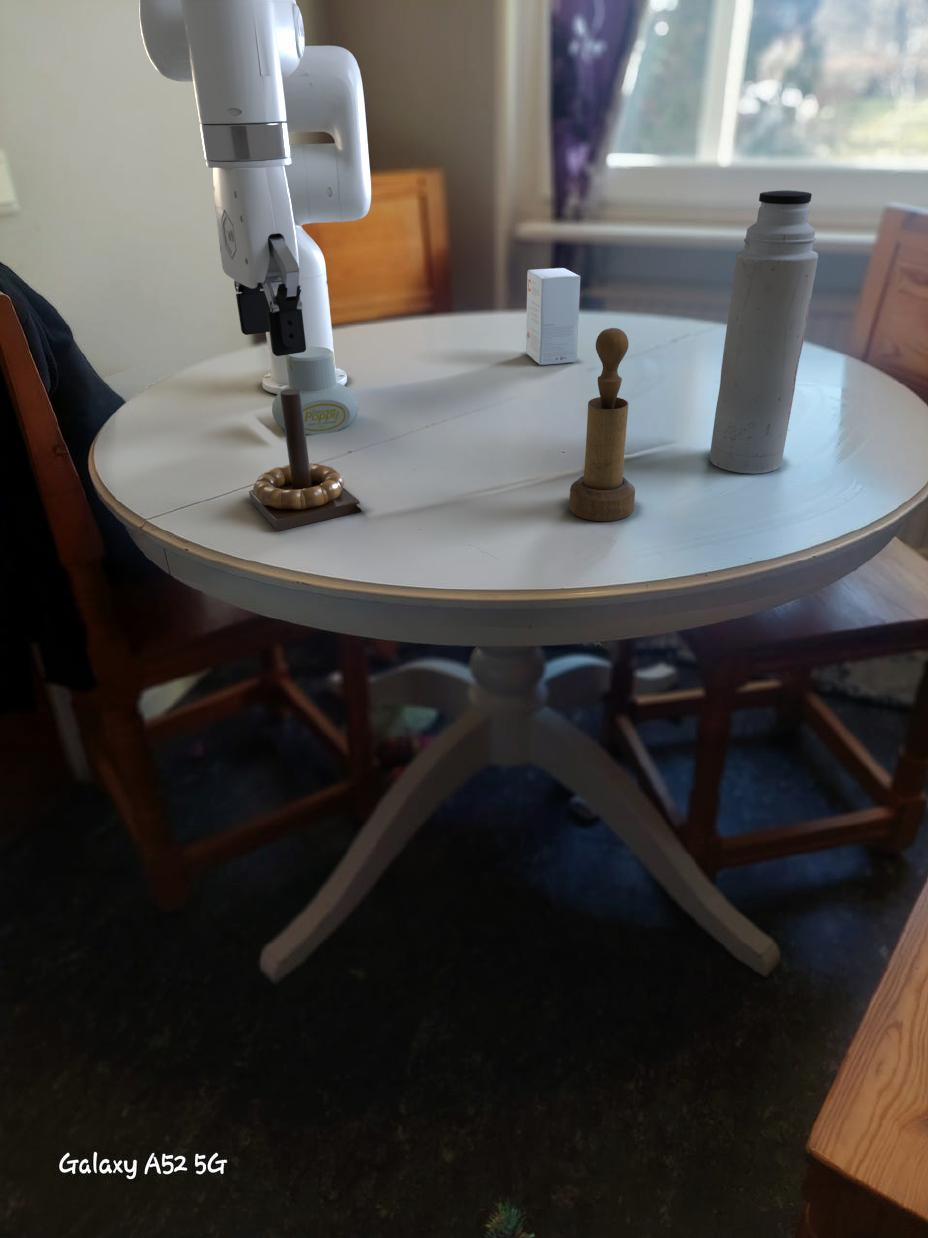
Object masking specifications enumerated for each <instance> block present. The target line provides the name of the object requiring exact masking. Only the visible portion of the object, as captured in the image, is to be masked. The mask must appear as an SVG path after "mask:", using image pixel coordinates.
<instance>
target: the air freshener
mask: <svg viewBox="0 0 928 1238" xmlns="http://www.w3.org/2000/svg"><path fill="white" fill-rule="evenodd" d="M334 358H335V353H334V354H333V352H332V351H331V350H330V349H328V348H323V347H306V350H305V352H302V353H296V354H289V355H286V363H287V371H288V380H289V386H287V387H286V388H284V389H283V390H287V389H297V390H300V391H301V400H302V408H303V416H304V425H305V433H306V436H317V435H323V434H331V433H336V432H339V431H342V430H344V429H346V428H348V427H349V426H350V425H352V423H353V422H354V421H355V420H356V418H357V416H358V413H359V410H360V404H359V400H358V398H357V396H356V395H355V393H354V392H353V391H352V390H351V389H350V388H349V387H347V386H346V385H345V384H344V385H342V384H340V383H338V382H336V373H335V368H336V362H335V363H334ZM283 390H282V391H283ZM271 414H272V416H273V419H274V420H275V422H276V424H277V425H279V426H280V428H282V429H283V430H285V427H284V420H283V412H282V405H281V397H280V393H279V394H276V396H275V398H274V399H273V401H272V405H271Z"/></svg>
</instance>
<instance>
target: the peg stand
mask: <svg viewBox="0 0 928 1238" xmlns="http://www.w3.org/2000/svg"><path fill="white" fill-rule="evenodd" d="M280 397H281V405H282V412H283V420H284V427H285V429H284V435H285V441H286V442H285V443H286V450H287V458H288V465H290V473H291V480H292V484H288V485H283V486H281V487H279V489H283V490H301V489H306V488H310V487H315V486H318V485H320V484H319V483H314V482H311V475H310V466H309V464H310V459H309V451H308V441H307V435H306V433H305V425H304V416H303V408H302V400H301V391H300V390H297V389H287V390H283V391H281V392H280ZM248 493H249V500H250V502H251V503H252V504H253V505H254V506H255V508H256V509H257V510H258V511H259V512H260V513H261V514H262V516H263V517H265V519H266V520H267V521H268V522H269V523H270V524H271V526H273V527H274V529H275V530H276V531H277V532H280V531H284V530H288V529H293V528H297V527H301V526H302V527H303V526H307V525H309V524H315V523H318V522H323V521H327V520H330V519H335V518H339V517H344V516H348V515H352V514H356V513H357V514H358V513H360V512H361V508H360V507H359V506H358V505H359V504H360V503H361V501H360V500H359V499H358V498H356V496H354V495H353V494H352V493H350V491H348V490H347V489H346V488H344V487H343V489H342V492H341V494H340V495H339V496H338V497H337V498H335V499H334V500H332V501H330V502H328V503H326V504H325V505H321V506H317V507H313V508H308V509H303V510H281V509H277V508H273V507H269V506H266V505H264V504H262V503H261V502H260V501H259V499H258V498H257V497H256V496H255V495H254V492H253V489H250V490H248Z"/></svg>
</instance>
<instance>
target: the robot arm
mask: <svg viewBox="0 0 928 1238" xmlns="http://www.w3.org/2000/svg"><path fill="white" fill-rule="evenodd" d="M138 1H139V2H138V9H139V10H138V12H139V13H138V15H139V25H140V33H141V38H142V43H143V46H144V49H145V52H146V55H147V57H148V58H149V60H150V63H151V64H152V66H153V67H154V68H155V70H156V71H157V72H158V73H159V74H160V75H161V76H163V77H165V78H166V79H169V80H171V81H175V82H183V83H184V82H185V83H187V82H191V83H193V89H194V96H195V102H196V108H197V115H198V122H199V128H200V134H201V140H202V147H203V153H204V159H205V166H206V168H211V169H212V181H213V183H212V184H213V196H214V197H213V199H214V208H215V217H216V227H217V233H218V234H217V236H218V244H219V251H220V259H221V266H222V270H223V272H224V274H225V275H226V276H227V277H229V278H231V279H232V280H233V285H234V290H235V292H236V293H235V298H236V305H237V311H238V317H239V324H240V331H241V333H242V334H244V335H246V336H250V335H256V334H263V333H264V334H265V337H266V344H267V351H268V359H269V366H270V372H269V373H266V374H265V375H264V376H262V378H261V385H262V386H261V387H262V389H263V390H265V391H266V392H268V393H271V394H275V395H278V394H279V393H280V392H281V391H282V390H283V389H284V388H286V387H287V386H289V380H288V371H287V363H286V355H289V354H296V353H302V352H305V350H306V347H323V348H328V349H330V350H331V351H332V352H333V354H334V355H335V350H334V338H333V337H334V336H333V328H332V316H331V308H330V299H329V298H330V297H329V296H330V295H329V287H328V277H327V266H326V259H325V256H324V254H323V251H322V250H321V248H320V246H319V245H318V244H317V243H316V241H315V240H314V239H313V238H312V237H311V236H310V234H308V233H307V232H306V231H305V229H304V228H303V225H311V224H317V223H318V224H319V223H320V224H322V223H323V224H325V223H343V222H344V223H345V222H355V221H359V220H362V219H363V218H365V217H366V216H367V215H368V213H369V211H370V210H371V209H370V207H371V204H372V180H371V179H372V178H371V167H370V158H369V157H370V155H369V142H368V131H367V129H368V128H367V119H366V117H367V116H366V106H365V95H364V87H363V81H362V80H363V79H362V75H361V69H360V67H359V64H358V61H357V59H356V57H355V56H354V55H353V53H352V52H350V51H349V50H348V49H346V48H345V47H342V46H338V45H306V39H305V37H306V36H305V35H306V34H305V28H304V21H303V16H302V13H301V10H300V8H299V6H298V5H297V1H296V0H138ZM320 132H321V133H326V134H329V135H330V136H331V137H332V138H333V140H334V142H333V143H331V142H330V143H290V138H289V136H290V135H289V133H320ZM334 363H335V364H336V359H335V357H334ZM335 373H336V382H338V383H340V384H342V385H344V386H345V385H346V384H347V382H348V377H347V376H348V375H347V372H346V371H345V370H344V369H341V368H338V367H335Z"/></svg>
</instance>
